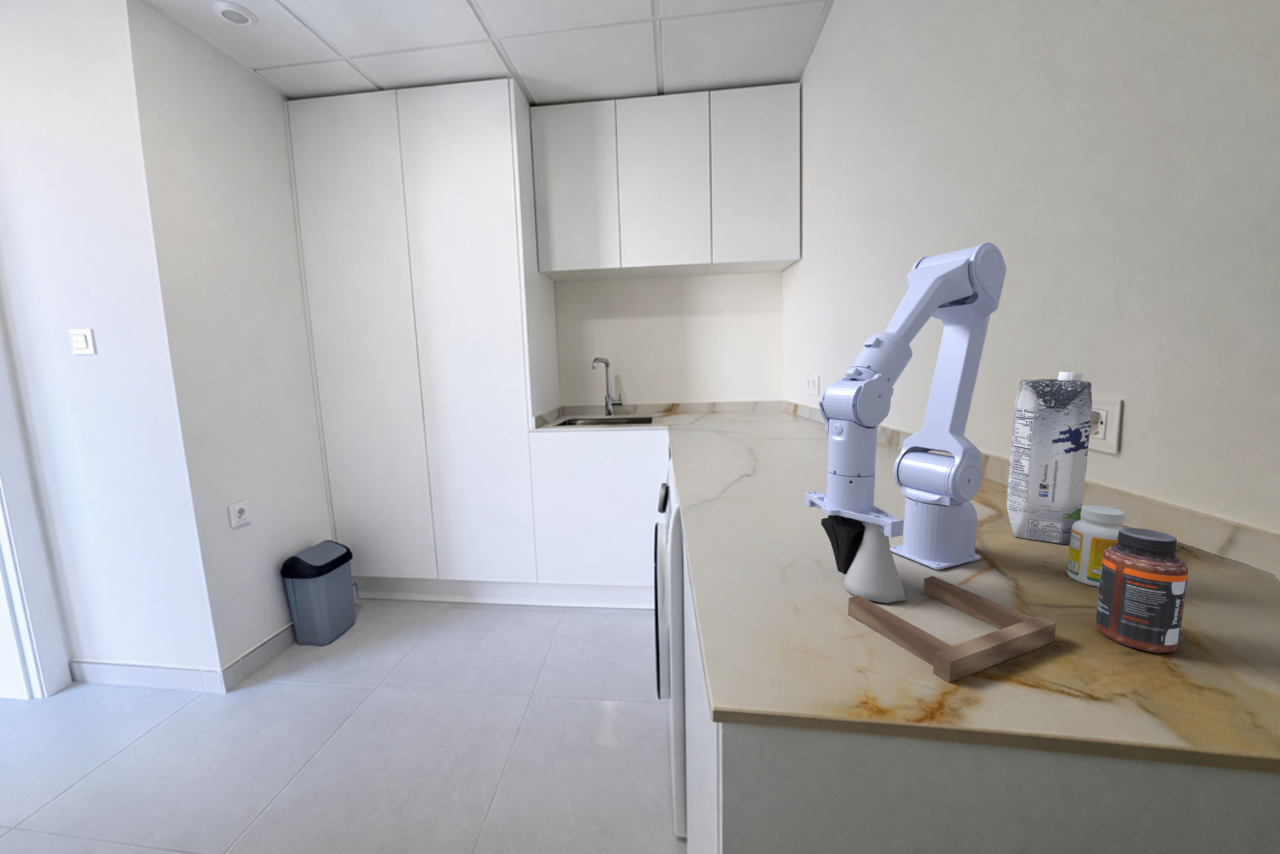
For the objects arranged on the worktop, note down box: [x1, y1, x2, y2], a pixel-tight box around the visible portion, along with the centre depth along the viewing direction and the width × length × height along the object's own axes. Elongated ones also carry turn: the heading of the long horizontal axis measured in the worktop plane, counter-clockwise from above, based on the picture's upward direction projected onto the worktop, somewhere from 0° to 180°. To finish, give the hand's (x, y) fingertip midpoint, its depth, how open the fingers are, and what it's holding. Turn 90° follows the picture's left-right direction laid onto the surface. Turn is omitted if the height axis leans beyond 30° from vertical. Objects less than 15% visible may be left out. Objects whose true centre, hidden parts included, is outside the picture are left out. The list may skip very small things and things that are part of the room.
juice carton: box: [1006, 371, 1093, 546], centre depth 77 cm, size 9×10×27 cm
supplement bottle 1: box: [1066, 504, 1126, 588], centre depth 61 cm, size 5×5×10 cm
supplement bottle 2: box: [1095, 527, 1189, 654], centre depth 48 cm, size 6×6×11 cm
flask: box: [843, 511, 907, 604], centre depth 59 cm, size 7×7×10 cm
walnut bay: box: [847, 575, 1057, 683], centre depth 51 cm, size 16×12×2 cm
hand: (846, 571), depth 63 cm, fingers closed
